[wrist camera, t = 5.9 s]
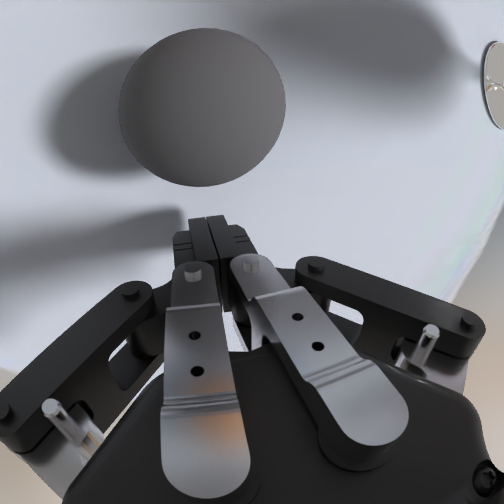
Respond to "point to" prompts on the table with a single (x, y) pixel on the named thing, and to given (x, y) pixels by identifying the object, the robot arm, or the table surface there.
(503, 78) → the wineglass
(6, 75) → the table surface
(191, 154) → the gray ball
